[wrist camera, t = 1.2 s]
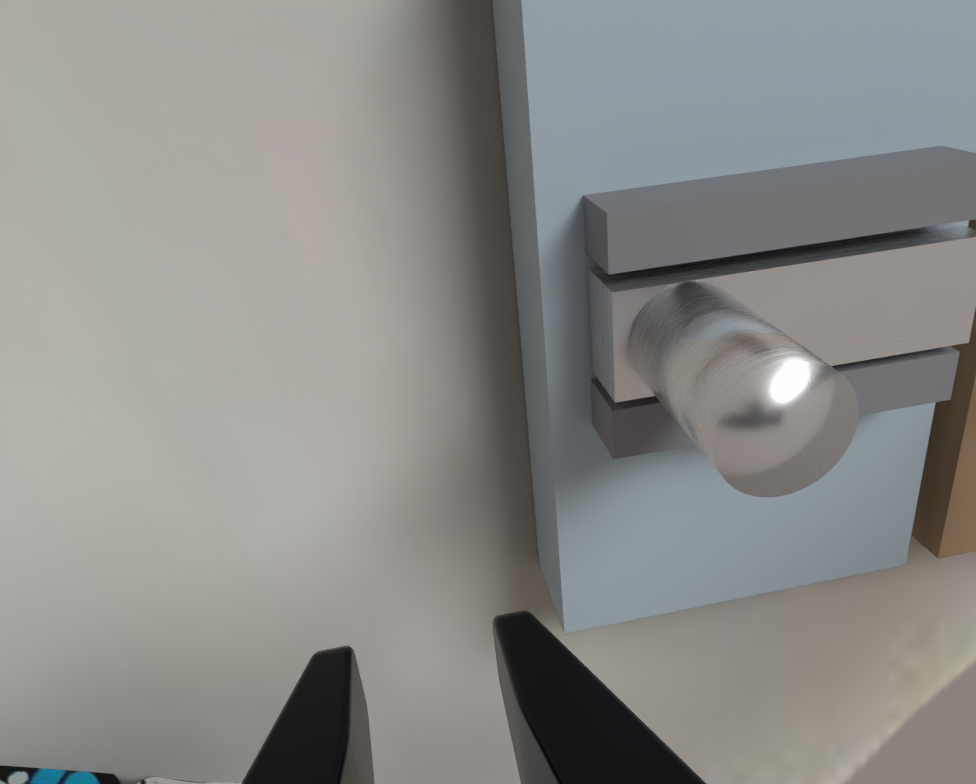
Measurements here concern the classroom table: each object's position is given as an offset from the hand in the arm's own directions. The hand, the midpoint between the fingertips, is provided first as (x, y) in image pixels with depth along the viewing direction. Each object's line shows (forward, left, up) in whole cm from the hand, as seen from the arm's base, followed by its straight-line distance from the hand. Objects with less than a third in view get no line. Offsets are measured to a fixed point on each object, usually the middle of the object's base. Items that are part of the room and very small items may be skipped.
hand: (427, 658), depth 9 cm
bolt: (-9, 0, -9) cm, 12 cm away
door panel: (-9, 0, -12) cm, 15 cm away
